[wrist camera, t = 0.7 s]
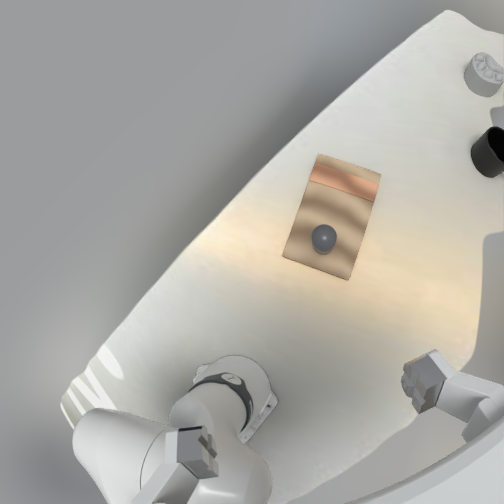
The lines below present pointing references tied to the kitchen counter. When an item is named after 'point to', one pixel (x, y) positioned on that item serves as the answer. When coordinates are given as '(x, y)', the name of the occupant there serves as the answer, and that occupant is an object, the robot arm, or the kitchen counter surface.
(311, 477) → the kitchen counter surface
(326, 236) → the round-topped grey cylinder
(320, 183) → the board
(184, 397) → the robot arm
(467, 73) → the lumpy-topped squat cylinder
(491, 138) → the mug
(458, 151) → the kitchen counter surface
